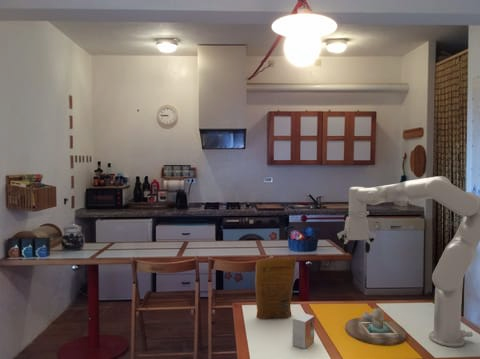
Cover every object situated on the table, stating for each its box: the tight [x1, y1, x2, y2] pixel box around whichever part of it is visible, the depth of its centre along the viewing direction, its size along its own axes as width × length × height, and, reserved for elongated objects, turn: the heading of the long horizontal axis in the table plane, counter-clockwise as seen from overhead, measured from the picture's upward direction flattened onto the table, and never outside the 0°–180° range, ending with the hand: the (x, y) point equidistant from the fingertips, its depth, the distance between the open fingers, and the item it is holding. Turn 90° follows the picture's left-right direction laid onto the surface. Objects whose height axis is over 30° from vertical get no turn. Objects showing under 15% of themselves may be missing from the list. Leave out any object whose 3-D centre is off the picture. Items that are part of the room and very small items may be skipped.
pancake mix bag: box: [254, 256, 297, 320], centre depth 183 cm, size 7×19×28 cm, turn 98°
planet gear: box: [368, 307, 388, 333], centre depth 166 cm, size 8×8×9 cm
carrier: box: [344, 311, 407, 346], centre depth 169 cm, size 24×24×4 cm
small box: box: [292, 312, 316, 349], centre depth 157 cm, size 8×6×10 cm
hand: (356, 252), depth 181 cm, fingers open, 9 cm apart
